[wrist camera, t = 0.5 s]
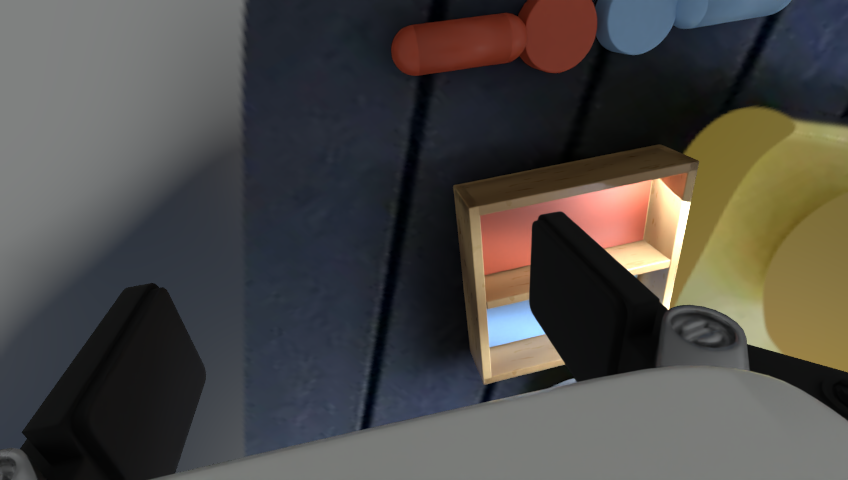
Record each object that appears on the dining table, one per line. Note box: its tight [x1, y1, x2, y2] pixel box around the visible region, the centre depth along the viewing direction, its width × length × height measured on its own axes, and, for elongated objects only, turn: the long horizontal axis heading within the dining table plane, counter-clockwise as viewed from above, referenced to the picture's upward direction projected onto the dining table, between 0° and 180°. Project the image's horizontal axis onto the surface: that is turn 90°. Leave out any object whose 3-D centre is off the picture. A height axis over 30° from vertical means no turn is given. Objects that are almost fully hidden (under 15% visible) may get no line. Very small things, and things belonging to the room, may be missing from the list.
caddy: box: [453, 144, 699, 385], centre depth 28 cm, size 13×13×3 cm
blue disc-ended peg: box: [595, 0, 791, 55], centre depth 22 cm, size 10×4×2 cm, turn 98°
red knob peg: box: [391, 0, 597, 76], centre depth 21 cm, size 10×4×2 cm, turn 96°
